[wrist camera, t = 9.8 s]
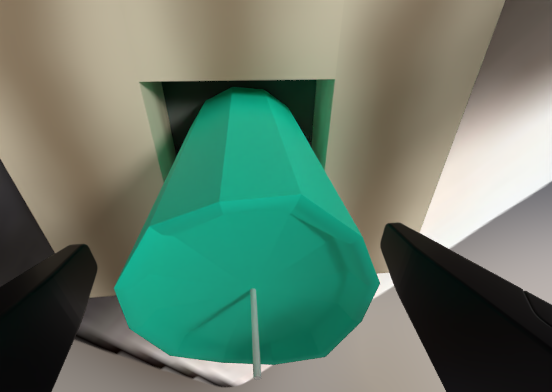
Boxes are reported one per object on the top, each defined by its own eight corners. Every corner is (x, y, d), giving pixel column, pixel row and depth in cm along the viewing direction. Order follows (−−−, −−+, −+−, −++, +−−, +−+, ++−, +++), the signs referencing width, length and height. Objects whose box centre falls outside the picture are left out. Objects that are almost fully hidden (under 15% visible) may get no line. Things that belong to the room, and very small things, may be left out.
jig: (465, -39, 12) (525, -55, 9) (384, 240, 20) (404, 271, 18) (-43, -54, 10) (-139, -80, 7) (103, 260, 19) (81, 298, 16)
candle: (319, 146, 16) (459, 362, 6) (243, 206, 17) (247, 456, 7) (249, 58, 13) (282, 179, 3) (166, 138, 15) (0, 397, 4)
